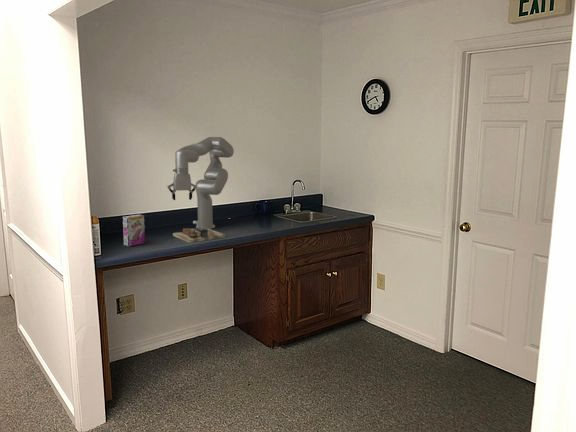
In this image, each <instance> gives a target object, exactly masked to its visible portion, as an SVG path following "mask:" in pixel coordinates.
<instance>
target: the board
mask: <svg viewBox="0 0 576 432" xmlns="http://www.w3.org/2000/svg"><path fill="white" fill-rule="evenodd" d="M207 230H208V237H206V238H201V232H199V231H196V230H195V232H196V233H197V237H195V238H190V236H188V235H186V234H185V233H183V231H181V232H180V231H179V232H173V233H172V236H173V237H175V238H177V239H180V240H182V241H185V242H186V243H197V242H202V241H203V240H204V241H207V240H208V241H210V240H215V239H217V240H218V239H224V238H226V237H227V234H225V233H222V232H219V231H217V230H215V229H214V230H213V229H207ZM204 241H203V242H204Z"/></svg>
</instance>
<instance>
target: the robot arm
mask: <svg viewBox="0 0 576 432" xmlns="http://www.w3.org/2000/svg"><path fill="white" fill-rule="evenodd" d="M208 153H209V159H210V162H209V165H208V166H207V168H206V170H205V172H204V174H203V178H201V179H198V180H197V181H196V182H195V184H194V183H192V179H191V174H190V173H189V164H190V163H197V161H199V159H200V157H202V156H205V155H207V154H208ZM234 153H235V150H234V147H233V145H232V144H231V143H230V142H228V141H227V140H226V139H225V138H223V137H222V136H208V137H205V138H204V139H202V140H200V141H198V142H197V143H192V144H189V145H186V146H185V145H184V146H182V147H180V149H178V150H176V151H175V153H174V154H175V160H174V161H175V168H174V169H172V172H173V173H174V175H173V182H172V183H170V184H169V185H166V186H167V187H166V188H167V189H168V191H169V192H170V193H171V199H172V200H173V201H176V192H177V191H188V192H189V193H188V199H189V200H190V201H191V200H192V199H193V193H194V192H196V197H197V199H196V200H197V201H196V202H197V203H196V204H197V220H193V221H192V224H193V225H195V229H196V228H199V227H201V228H204V229H211V230H213V229H215V228H216V225H215V224H214V223H213V222H214V221H213V199H212V197H211V195H212V196H213V195H214V196H218V195H220V194H221V193H222V191H223V189H224V188H225V185H226V184H227V181H228V179H229V173H228V170H227V169H225V168H223V162H222V161H221V159H220V158H231V157H233V155H234ZM172 187H173V188H172Z"/></svg>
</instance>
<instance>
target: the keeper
mask: <svg viewBox="0 0 576 432" xmlns="http://www.w3.org/2000/svg"><path fill="white" fill-rule="evenodd" d="M195 229H196V231H199V232H201V238H206V237H208V230H207V229H204V228H201V227H199V228H196V227H195Z"/></svg>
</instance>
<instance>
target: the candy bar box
mask: <svg viewBox="0 0 576 432" xmlns="http://www.w3.org/2000/svg"><path fill="white" fill-rule="evenodd" d="M145 223H146V222H145V215H144V214H133V215H128V216H122V227H123V229H122V232H123V233H122V235H123V246H125V247H132V246H133V247H134V246H138V245H142V244H146V231H145V229H146V228H145V227H146V226H145V225H146V224H145Z"/></svg>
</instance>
